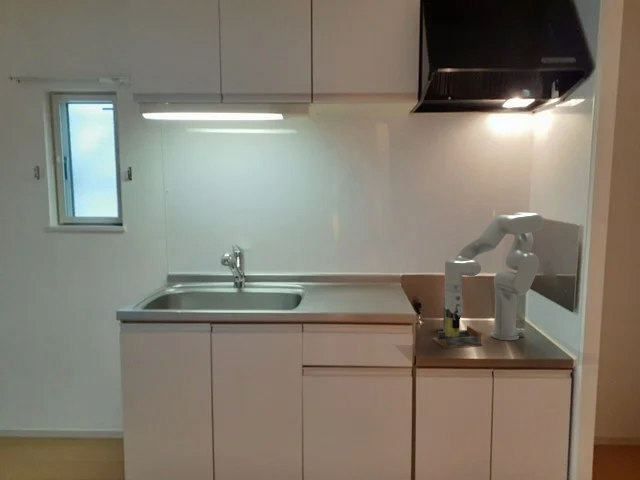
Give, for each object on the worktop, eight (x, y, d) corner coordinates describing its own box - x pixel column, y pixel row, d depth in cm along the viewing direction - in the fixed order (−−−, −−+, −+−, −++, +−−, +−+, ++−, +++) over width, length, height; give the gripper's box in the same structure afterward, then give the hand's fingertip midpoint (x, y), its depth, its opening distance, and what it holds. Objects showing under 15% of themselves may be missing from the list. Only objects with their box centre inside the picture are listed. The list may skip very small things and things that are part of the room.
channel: (469, 337, 225) (469, 325, 225) (481, 345, 213) (482, 333, 213) (433, 339, 222) (433, 327, 222) (444, 347, 210) (444, 335, 210)
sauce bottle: (457, 342, 213) (458, 299, 211) (443, 340, 216) (444, 297, 214) (460, 338, 219) (461, 296, 216) (447, 336, 222) (447, 294, 219)
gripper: (470, 291, 207) (469, 331, 209) (452, 283, 224) (452, 320, 226) (453, 291, 205) (453, 332, 208) (437, 283, 222) (437, 321, 224)
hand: (452, 325), depth 217 cm, fingers closed on sauce bottle, 6 cm apart
